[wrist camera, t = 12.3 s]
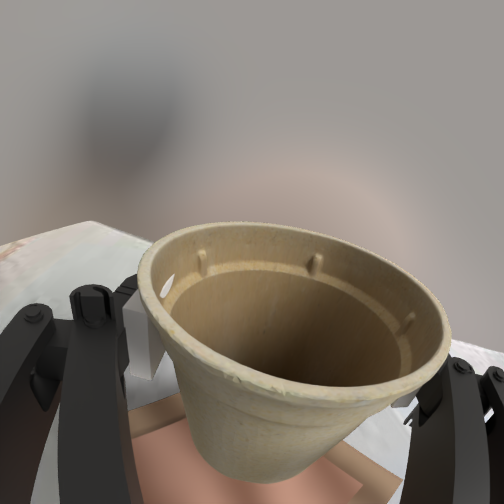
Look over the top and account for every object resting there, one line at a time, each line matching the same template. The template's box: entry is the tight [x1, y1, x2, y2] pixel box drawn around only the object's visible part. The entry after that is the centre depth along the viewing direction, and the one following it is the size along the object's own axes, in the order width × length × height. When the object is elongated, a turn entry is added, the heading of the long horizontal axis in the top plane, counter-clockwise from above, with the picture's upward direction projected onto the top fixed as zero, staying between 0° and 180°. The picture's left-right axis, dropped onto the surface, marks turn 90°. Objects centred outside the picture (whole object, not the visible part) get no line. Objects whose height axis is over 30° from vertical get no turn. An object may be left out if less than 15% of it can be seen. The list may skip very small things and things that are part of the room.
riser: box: [128, 393, 403, 504], centre depth 15 cm, size 20×20×4 cm
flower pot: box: [137, 222, 452, 484], centre depth 10 cm, size 9×9×9 cm
